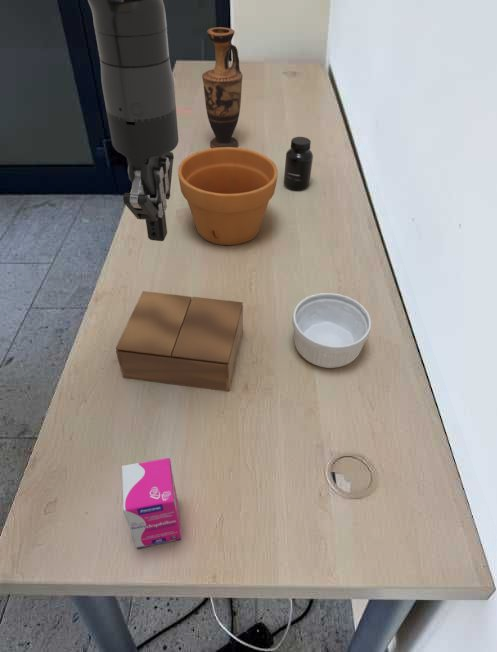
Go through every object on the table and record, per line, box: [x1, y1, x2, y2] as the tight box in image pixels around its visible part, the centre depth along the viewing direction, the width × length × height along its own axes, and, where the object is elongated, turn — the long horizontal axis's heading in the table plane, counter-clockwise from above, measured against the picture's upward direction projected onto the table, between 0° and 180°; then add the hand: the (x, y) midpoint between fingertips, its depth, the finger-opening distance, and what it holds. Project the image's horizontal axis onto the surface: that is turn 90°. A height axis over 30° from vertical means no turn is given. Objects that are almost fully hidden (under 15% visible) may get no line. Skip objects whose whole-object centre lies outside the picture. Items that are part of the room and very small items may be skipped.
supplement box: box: [121, 457, 182, 549], centre depth 59 cm, size 6×6×12 cm
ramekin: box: [291, 292, 372, 369], centre depth 84 cm, size 13×13×7 cm
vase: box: [201, 26, 243, 149], centre depth 134 cm, size 11×11×30 cm
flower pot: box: [177, 147, 279, 246], centre depth 108 cm, size 21×21×15 cm
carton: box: [115, 296, 244, 392], centre depth 82 cm, size 14×18×7 cm
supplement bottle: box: [283, 136, 314, 192], centre depth 123 cm, size 7×7×12 cm
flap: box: [115, 290, 193, 356], centre depth 80 cm, size 14×9×1 cm, turn 171°
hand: (158, 237), depth 65 cm, fingers closed
